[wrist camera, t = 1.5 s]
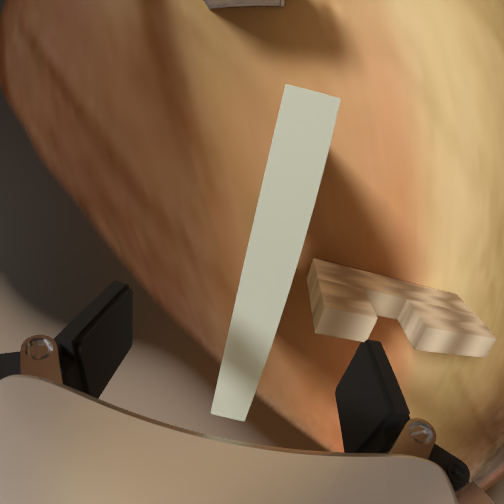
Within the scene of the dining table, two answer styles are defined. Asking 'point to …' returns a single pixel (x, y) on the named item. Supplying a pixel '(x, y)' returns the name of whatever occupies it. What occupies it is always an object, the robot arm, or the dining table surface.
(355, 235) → the dining table surface
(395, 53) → the dining table surface
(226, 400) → the sage plate
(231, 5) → the medicine box
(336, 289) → the maple board
